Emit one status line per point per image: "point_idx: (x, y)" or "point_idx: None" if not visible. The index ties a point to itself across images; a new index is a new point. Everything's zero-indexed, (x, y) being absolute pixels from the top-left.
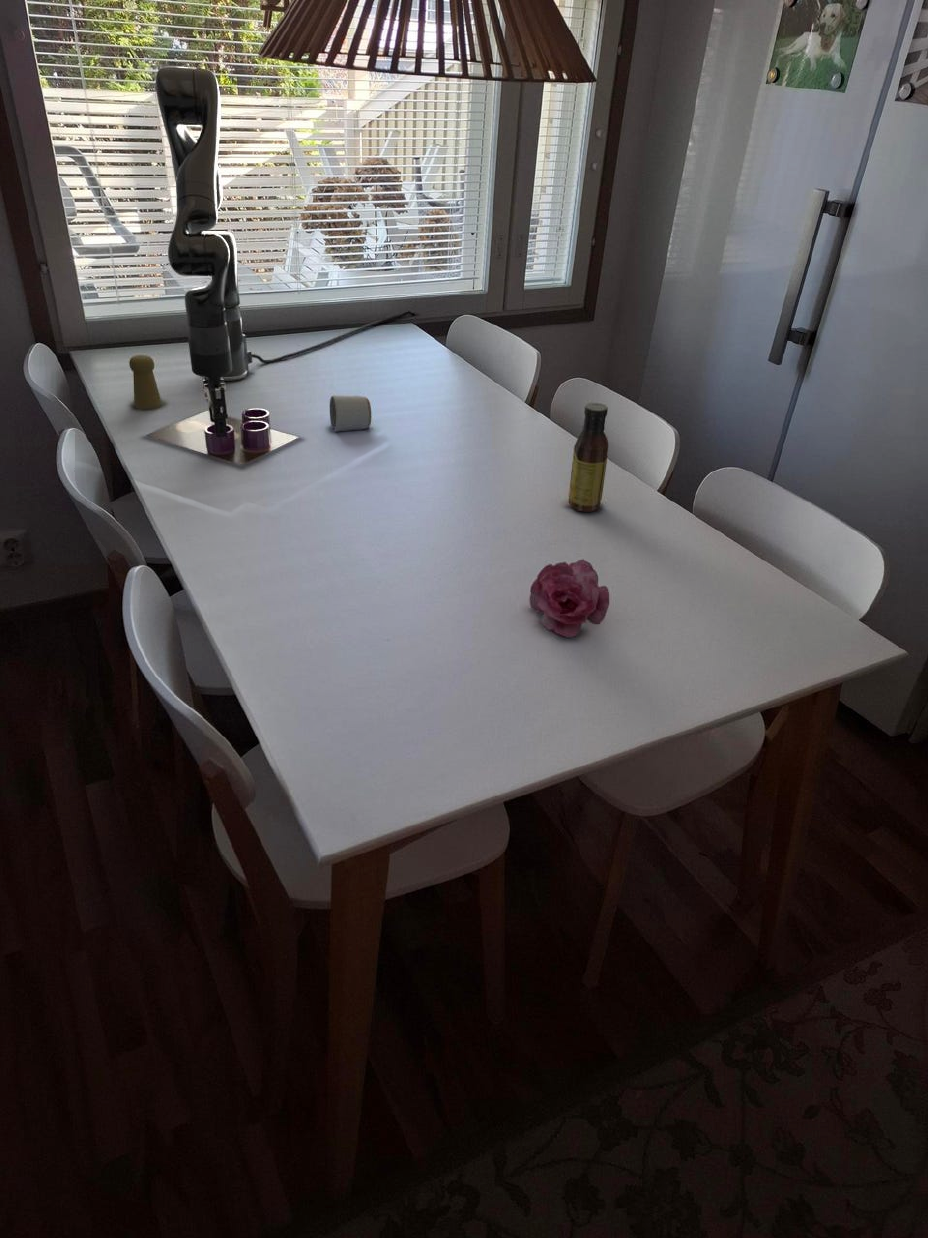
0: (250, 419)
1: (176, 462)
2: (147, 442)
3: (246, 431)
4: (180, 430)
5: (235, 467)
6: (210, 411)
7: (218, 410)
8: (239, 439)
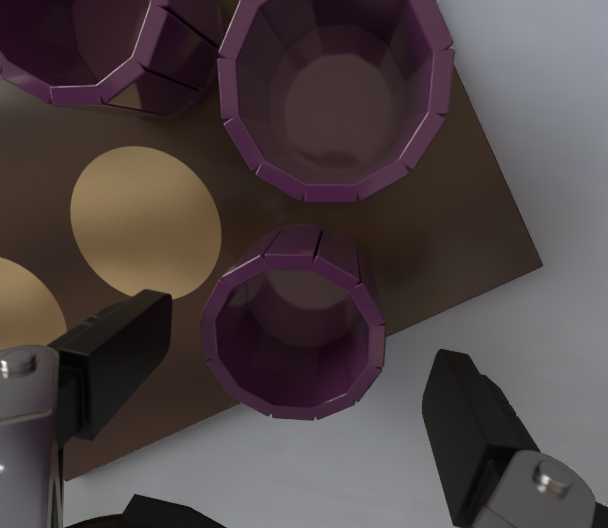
0: (156, 65)
1: (335, 460)
2: (116, 480)
3: (395, 182)
4: None
5: (509, 285)
6: (127, 392)
7: (128, 341)
8: (211, 165)
